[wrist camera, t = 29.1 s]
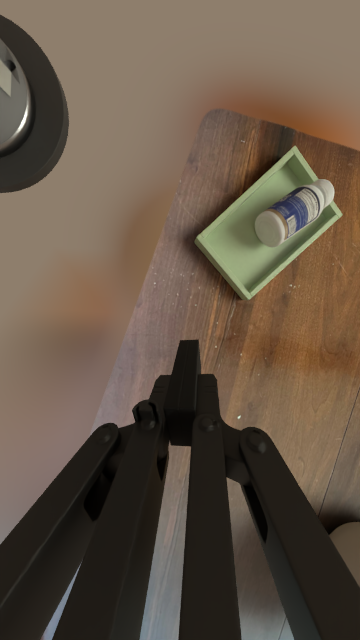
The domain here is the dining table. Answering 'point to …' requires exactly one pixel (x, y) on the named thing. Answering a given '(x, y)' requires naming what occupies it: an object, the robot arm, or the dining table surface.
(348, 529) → the decorative bowl
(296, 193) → the pill bottle
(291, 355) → the dining table surface
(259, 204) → the tray
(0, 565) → the robot arm
